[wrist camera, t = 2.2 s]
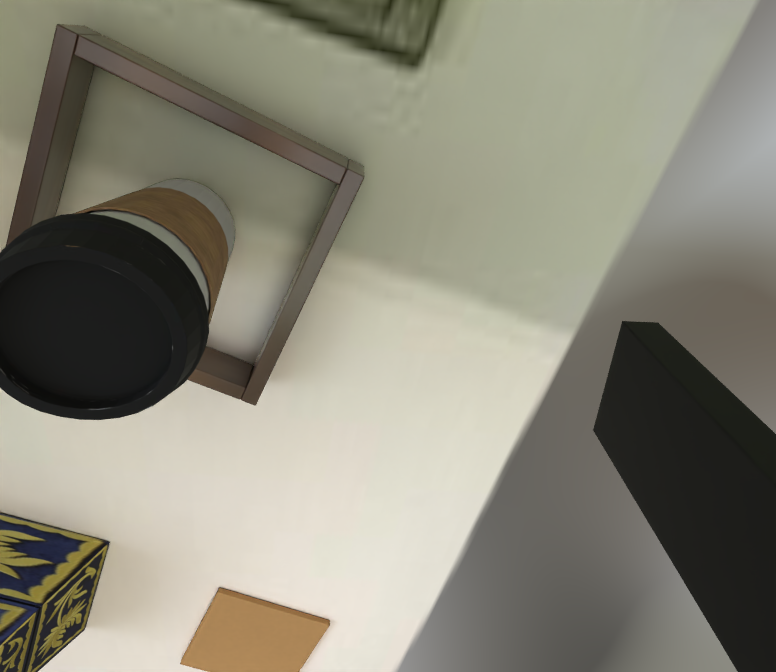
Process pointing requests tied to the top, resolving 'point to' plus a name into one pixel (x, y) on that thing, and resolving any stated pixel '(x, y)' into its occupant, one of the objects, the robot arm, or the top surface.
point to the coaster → (252, 636)
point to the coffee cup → (112, 301)
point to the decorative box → (43, 590)
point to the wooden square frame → (88, 48)
